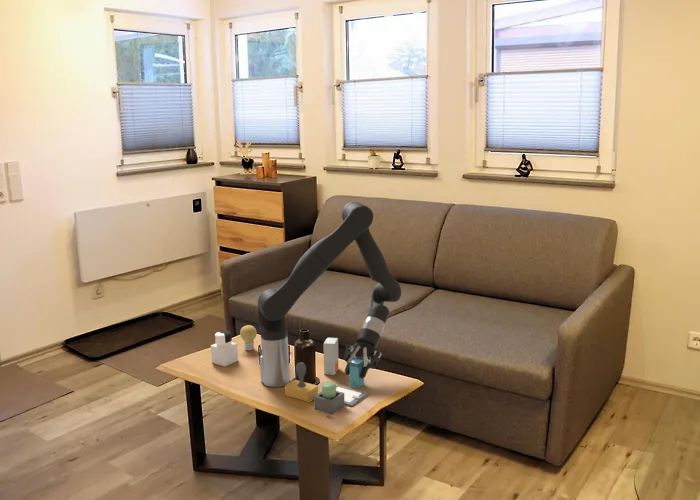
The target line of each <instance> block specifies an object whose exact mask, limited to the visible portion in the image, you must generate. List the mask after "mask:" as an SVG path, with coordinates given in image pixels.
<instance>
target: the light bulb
mask: <svg viewBox="0 0 700 500" xmlns="http://www.w3.org/2000/svg"><path fill="white" fill-rule="evenodd" d="M239 332H240V333H239V334H240V338H241V339H242V340H243V341H244V342H243V344H244V345H243V346H244V350H245V351H250V352H251V351H252V350H254V348H255V345H254V343H255V342H254V340H255V339H256V337H257V328H255V326H253V325H251V324H247V325H244V326H243V327H241V328H240V331H239Z"/></svg>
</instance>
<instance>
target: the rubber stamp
mask: <svg viewBox="0 0 700 500" xmlns="http://www.w3.org/2000/svg"><path fill="white" fill-rule="evenodd" d="M295 372H296V374H297V377H298V379H299V380H298V379H294V380H292V381H289V383H288V384H286V385H284V393H285V394H284V395H285V396H286V397H291V398H293V399H297V400H301V401H305V402H308V403H310V402H312V401H314V396H316V395H317V394H319V386H318V385H317V384H316V385H315V384H313V383H309V382H305V381H304V379H305V375H306V372H307V366H306V364H305V363H304V362H301V361H300V362H297V364H296V365H295Z"/></svg>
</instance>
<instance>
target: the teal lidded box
mask: <svg viewBox="0 0 700 500" xmlns="http://www.w3.org/2000/svg"><path fill="white" fill-rule="evenodd" d="M362 367H364V359H357V358H354V359H353V360H351V361H350V362H349V368H350V374H349V386H350V387H352V388H356V389H360V388H361V387H363V386H364V385H365V378H363V379H361V378H360V377H359V375H360V372H361V370H362Z"/></svg>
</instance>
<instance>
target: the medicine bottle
mask: <svg viewBox="0 0 700 500" xmlns="http://www.w3.org/2000/svg"><path fill="white" fill-rule="evenodd" d="M214 337H215V338H214V339H215V343H213V344H211V345H210V353H211V354H210V355H211V363H212V364H215V365H217V366H221V367H224V368H225V367H227V366H230V365H232V364H234V363H236V362H238V361H239V354H238V343H236V342H233V341H232V340H233V339H232V332H231V331H230V330H226V329H225V330H219V331H217V332H216V333H215V334H214Z"/></svg>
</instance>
